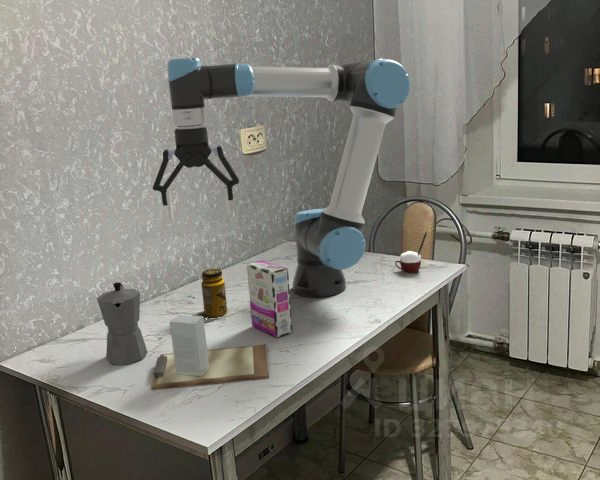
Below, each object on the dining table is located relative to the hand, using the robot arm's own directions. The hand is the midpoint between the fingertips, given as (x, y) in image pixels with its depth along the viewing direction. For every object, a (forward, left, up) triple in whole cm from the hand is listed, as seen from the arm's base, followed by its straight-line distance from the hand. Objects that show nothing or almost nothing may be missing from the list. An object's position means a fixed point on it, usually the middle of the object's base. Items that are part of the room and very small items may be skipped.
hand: (199, 216), depth 158 cm
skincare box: (+3, +26, -28) cm, 38 cm away
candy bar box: (-15, +5, -29) cm, 33 cm away
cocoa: (-59, -30, -29) cm, 72 cm away
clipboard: (-1, +23, -29) cm, 37 cm away
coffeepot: (+19, +12, -29) cm, 37 cm away
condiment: (0, -9, -29) cm, 30 cm away
